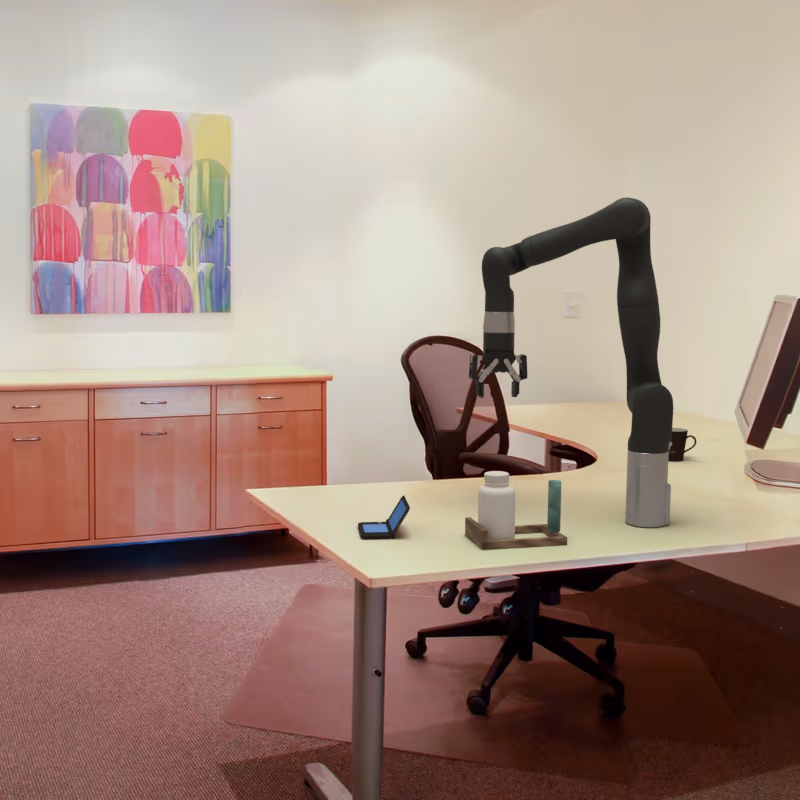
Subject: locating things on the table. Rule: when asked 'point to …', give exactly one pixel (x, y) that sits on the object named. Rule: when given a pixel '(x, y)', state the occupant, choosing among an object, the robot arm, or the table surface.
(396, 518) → the handheld game console
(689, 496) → the table surface
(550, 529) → the brown wooden frame
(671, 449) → the coffee mug
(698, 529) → the table surface
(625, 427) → the table surface
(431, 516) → the table surface
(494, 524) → the pill bottle
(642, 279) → the robot arm
